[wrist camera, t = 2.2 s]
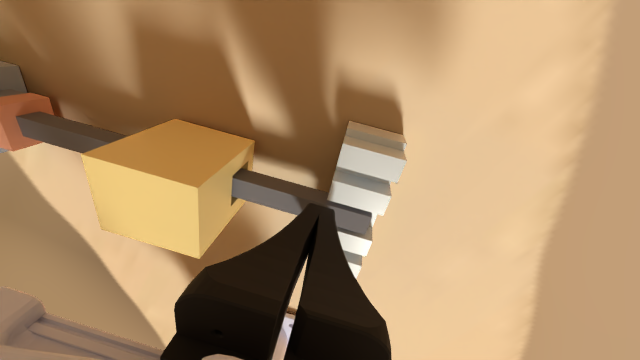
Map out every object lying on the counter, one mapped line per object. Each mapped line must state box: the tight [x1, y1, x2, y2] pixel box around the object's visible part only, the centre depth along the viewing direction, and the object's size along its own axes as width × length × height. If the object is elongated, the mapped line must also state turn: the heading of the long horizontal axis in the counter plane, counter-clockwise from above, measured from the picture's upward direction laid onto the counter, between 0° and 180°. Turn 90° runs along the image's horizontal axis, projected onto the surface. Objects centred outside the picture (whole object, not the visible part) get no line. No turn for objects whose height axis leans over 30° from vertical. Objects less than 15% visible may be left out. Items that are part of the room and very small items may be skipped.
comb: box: [327, 121, 407, 278], centre depth 15 cm, size 9×3×3 cm, turn 168°
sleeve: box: [81, 119, 255, 259], centre depth 14 cm, size 4×5×6 cm
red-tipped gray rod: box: [0, 93, 372, 235], centre depth 15 cm, size 23×3×3 cm, turn 78°
